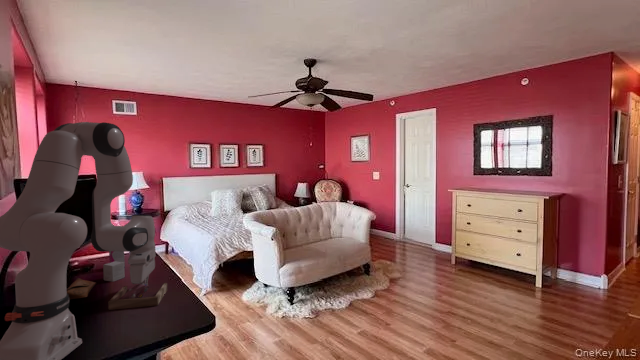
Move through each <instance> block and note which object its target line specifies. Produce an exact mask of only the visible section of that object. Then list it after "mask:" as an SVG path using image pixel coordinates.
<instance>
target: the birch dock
mask: <svg viewBox="0 0 640 360" xmlns="http://www.w3.org/2000/svg"><path fill="white" fill-rule="evenodd" d="M127 291H128V286H127V285H125V286H122V287H121V288H120V290H118V292H117V293H115V294H114V295H113V297H111V299H110V300H108V302H107V303H108V310H110V311H111V310H121V309H122V310H123V309H130V308H131V309H133V308H144V307H154V306H155V307H156V306H158V305H159V304H160V303H161V301H162V299H163V297H164V296H165V295H166V293H167V292H168V283H167V282H164V283H163V284H162V286H161V287H160V288H159V290H158V291H157V292H156V295H154V296H146V297H145V296H144V297H141V298H137V297H136V298H132V299H120V298H121V297H122V296H123V295H124V294H125V293H126V292H127ZM164 294H165V295H164Z"/></svg>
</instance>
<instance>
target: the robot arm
mask: <svg viewBox="0 0 640 360" xmlns="http://www.w3.org/2000/svg"><path fill="white" fill-rule="evenodd" d="M35 152H36V153H35V155H34V158H33V161H32V164H31V167H30V171H29V174H28V178H27V180H26V183H25V186H24V188H23V190H22V192H21V193H20V195H19V197H17V199H16V201H15V202H14V204H13V205H12V206H11V207H10V208H9V209H8V210H7V211H6V212H5V213H3V215H1V216H0V248H1V249H4V250H9V251H12V252H29V259H28V262H27V265H26V267H25V268H23V269H22V270H20V271H19V272H18V273H17V274H16V276H15V278H14V286H15V291H14V292H15V304H14V307H13V310H12V312H7V313H6V314H5V316H4V321H5V322H10V321H11V323H10V325H9V327H8V329H6V331H5V332H4V334H3V336H2V338H1V339H0V360H62V359H64V358H65V357H67V356H68V355H69V354H70V353H71V352H73V351H74V350H75V349H76V348H78V347H79V346H81V344H83V339H82V338H80V337H78V331H77V324H76V318H75V315H74V314H73V313H72V312H71V311H70V309H69V307H70V300H69V295H68V294H67V289H68V288H67V287H68V286H67V273H68V272H67V270H68V265H69V261H70V260H71V257H72V255H73V254H74V253H75V251H76V250H77V249H78V248H80V247H81V246H82V245H83V243H85V241H86V239H87V236H88V226H87V223H86V221H85V220H84V219H83V218H81V217H80V216H77V215H74V214H73V215H72V214H68V213H65V212H56V211H57V209H58V208H59V207H60V205H62V204H63V203H64V202H65V201H67V200H68V199H70V198H72V196H73V195H74V193H75V190H76V185H77V181H78V177H79V173H80V169H81V166H82V165H81V163H82V158H83V157H84V156H88V157H92V158H93V159H94V166H95V173H96V175H95V176H96V185H95V187H94V188H93V190H92V195H91V215H92V216H91V217H92V220H91V221H92V230H91V235H90V243H91V245H92V247H93V249H95V250H96V251H98V252H101V253H102V252H103V253H104V252H105V253H106V252H108V253H109V251H117V252H124V253H125V252H126V253H130V255H129V256H128V258H127V263H128V265H129V278H130V283H131V284H132V285H139V284H141V285H142V284H143V283H144V284H146V285H148V286H149V283H148V281H149V276H150V274H151V273H152V272H153V271H154V270H155V267H156V259H155V257H156V255H157V254H156V242H155V236H156V228H155V227H156V225H155V220H154V218H153V216H152V215H149V214H133V215H132V216H131V218H130V220H129V221H128V222H127V223H126V224H124V225H114V224H113V223H112V220H111V219H112V215H111V213H112V212H111V209H112V208H111V207H112V206H111V204H112V202H113V200H114V199H115V198H117V197H120V196H121V195H124V194H125V193H127V192H128V191H129V190H130V189H131V187H132V185H133V181H134V175H133V171H132V170H133V169H132V164H131V161H130V157H129V153H128V151H127V149H126V146H125V134H124V132H123V131H122V130H121V128H120V127H119V126H118V125H116V124H114V123H110V122H105V121H104V122H89V121H81V122H73V123H72V122H69V123H68V122H67V123H64V124H61V125H59V126H57V127H56V128H54V130H52V131H51V130H50V131H49V132H47V133H46V134H45V135H44V137H43V139H41V141H40V144H39V145H38V148H37V150H36V151H35Z"/></svg>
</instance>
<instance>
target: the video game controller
mask: <svg viewBox="0 0 640 360" xmlns="http://www.w3.org/2000/svg"><path fill="white" fill-rule="evenodd" d="M149 289H150V286H149V284H148V285H146V284H144V283H143V284H142V285H141V284H134V286H132V287H131V288H129V289H127V292H126V293H125V294H124V295H123V296H122V297H121V298H120V299H132V298H143V296H144V294H146V292H148V290H149Z"/></svg>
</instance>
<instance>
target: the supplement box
mask: <svg viewBox="0 0 640 360" xmlns="http://www.w3.org/2000/svg"><path fill="white" fill-rule="evenodd" d="M108 253H109V255H108V256H109V257H108V258H109V263H111V262H114V261H117V262H124V269H125V268H126V267H125V264H126V262H125V252H117V251H108Z"/></svg>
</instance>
